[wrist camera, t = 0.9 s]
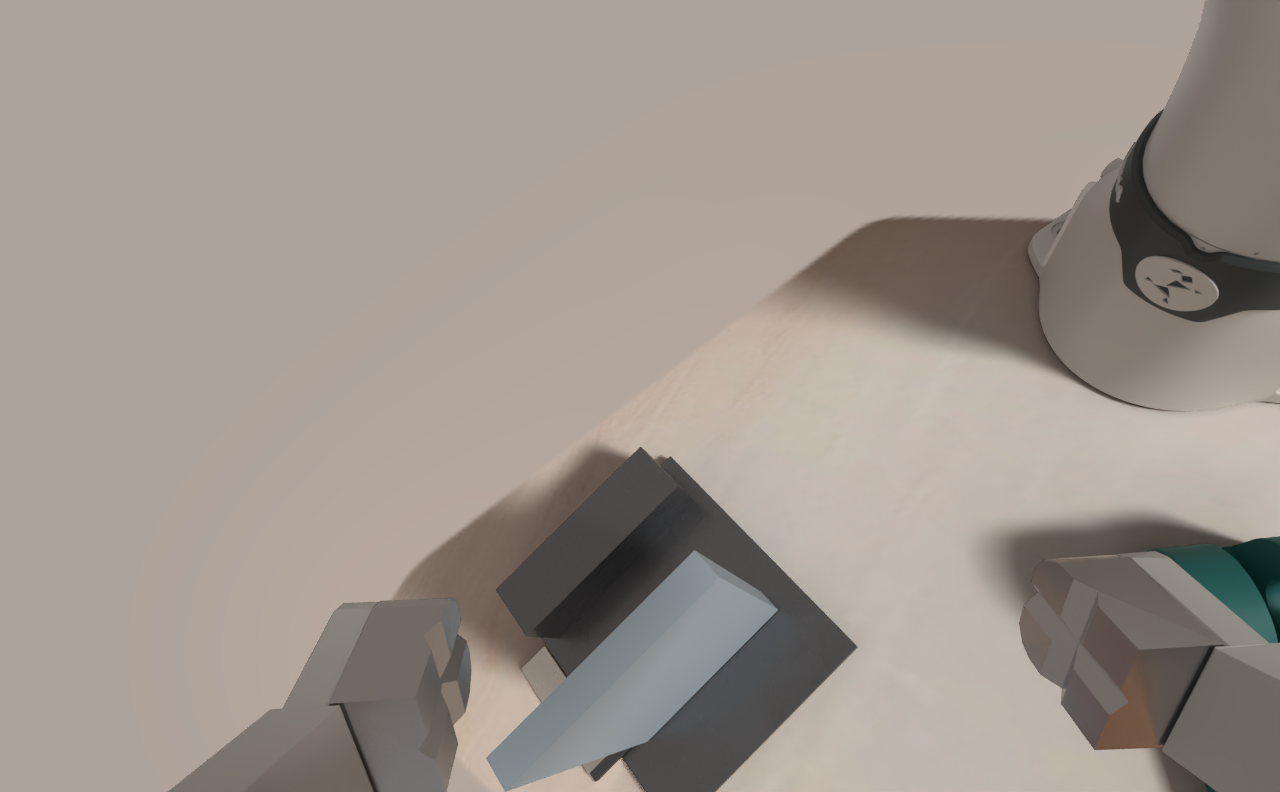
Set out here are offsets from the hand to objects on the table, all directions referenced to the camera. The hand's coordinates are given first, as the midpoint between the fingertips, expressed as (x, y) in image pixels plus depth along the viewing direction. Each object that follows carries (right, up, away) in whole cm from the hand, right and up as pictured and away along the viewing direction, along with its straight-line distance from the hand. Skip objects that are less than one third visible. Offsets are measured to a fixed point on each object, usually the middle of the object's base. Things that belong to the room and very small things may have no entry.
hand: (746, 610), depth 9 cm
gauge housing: (0, -14, +35) cm, 38 cm away
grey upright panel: (+1, -16, +32) cm, 36 cm away
